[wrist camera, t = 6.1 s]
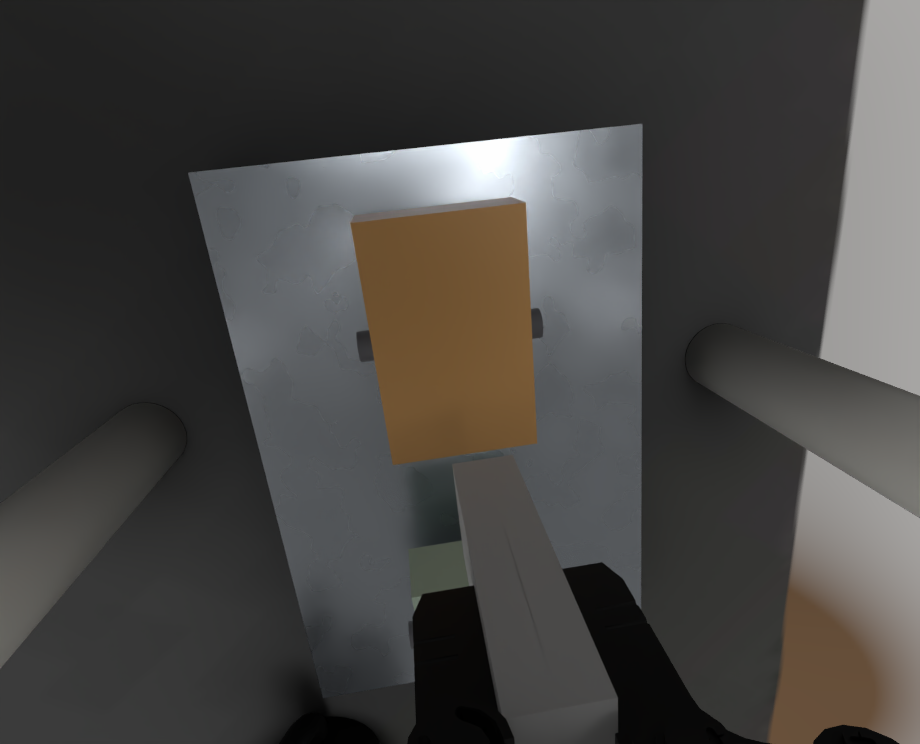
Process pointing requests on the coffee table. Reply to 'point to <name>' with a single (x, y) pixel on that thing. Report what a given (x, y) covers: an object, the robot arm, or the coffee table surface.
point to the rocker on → (435, 571)
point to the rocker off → (450, 326)
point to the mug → (328, 731)
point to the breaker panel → (356, 384)
